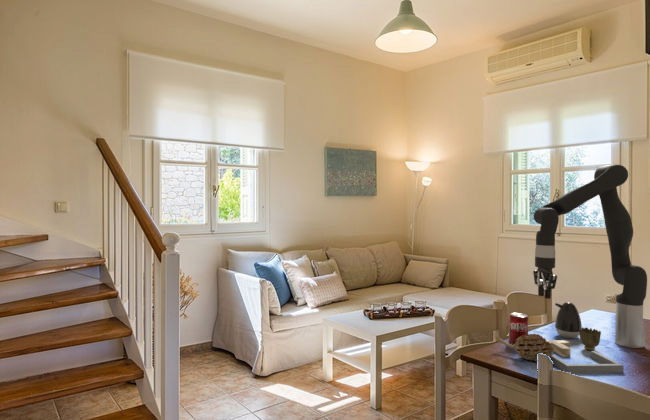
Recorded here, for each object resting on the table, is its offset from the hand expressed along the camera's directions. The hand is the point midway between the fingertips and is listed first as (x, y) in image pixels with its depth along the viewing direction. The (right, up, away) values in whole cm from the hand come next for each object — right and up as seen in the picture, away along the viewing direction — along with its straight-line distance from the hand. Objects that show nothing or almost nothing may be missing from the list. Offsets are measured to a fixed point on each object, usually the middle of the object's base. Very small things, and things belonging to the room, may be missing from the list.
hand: (544, 296), depth 178 cm
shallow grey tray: (+1, -20, -23) cm, 30 cm away
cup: (+14, -20, -7) cm, 25 cm away
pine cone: (-17, -19, -17) cm, 31 cm away
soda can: (-11, -19, -1) cm, 22 cm away
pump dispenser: (+15, -20, +10) cm, 27 cm away
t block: (0, -19, -10) cm, 22 cm away
